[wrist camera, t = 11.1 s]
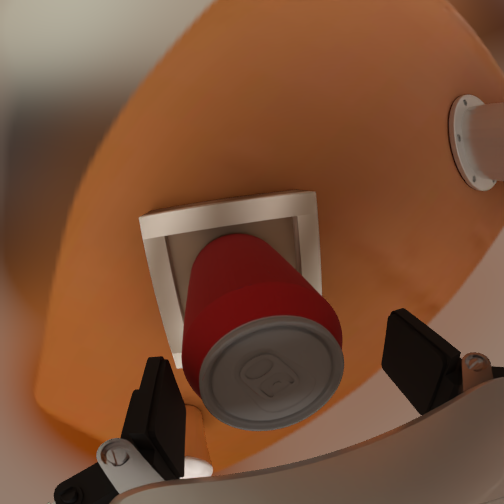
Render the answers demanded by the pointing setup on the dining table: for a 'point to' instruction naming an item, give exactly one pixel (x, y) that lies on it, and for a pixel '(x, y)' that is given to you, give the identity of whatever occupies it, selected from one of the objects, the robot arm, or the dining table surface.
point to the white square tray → (220, 224)
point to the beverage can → (258, 337)
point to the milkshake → (196, 446)
